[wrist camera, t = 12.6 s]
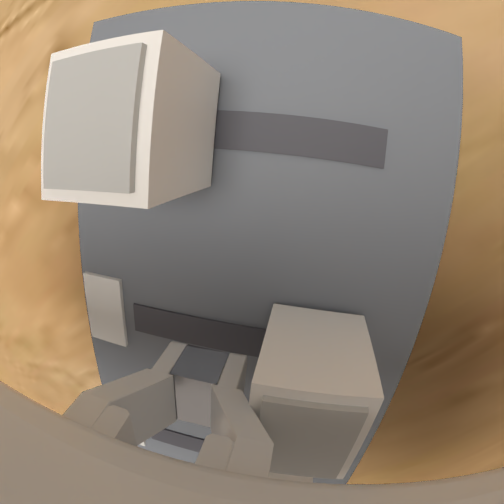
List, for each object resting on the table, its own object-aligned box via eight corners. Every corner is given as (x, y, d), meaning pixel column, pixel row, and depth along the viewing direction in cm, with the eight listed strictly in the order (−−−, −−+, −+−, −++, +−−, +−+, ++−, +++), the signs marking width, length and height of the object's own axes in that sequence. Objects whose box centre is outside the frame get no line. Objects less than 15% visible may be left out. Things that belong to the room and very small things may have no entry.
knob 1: (220, 73, 8) (159, 26, 5) (210, 186, 10) (143, 211, 6) (133, 78, 9) (46, 52, 5) (126, 180, 10) (35, 201, 6)
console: (424, 64, 11) (463, 35, 7) (333, 457, 18) (332, 507, 14) (138, 46, 12) (87, 22, 8) (145, 420, 20) (120, 461, 16)
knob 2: (364, 315, 10) (385, 404, 6) (340, 394, 11) (342, 484, 7) (273, 303, 10) (249, 388, 6) (262, 384, 11) (239, 472, 7)
